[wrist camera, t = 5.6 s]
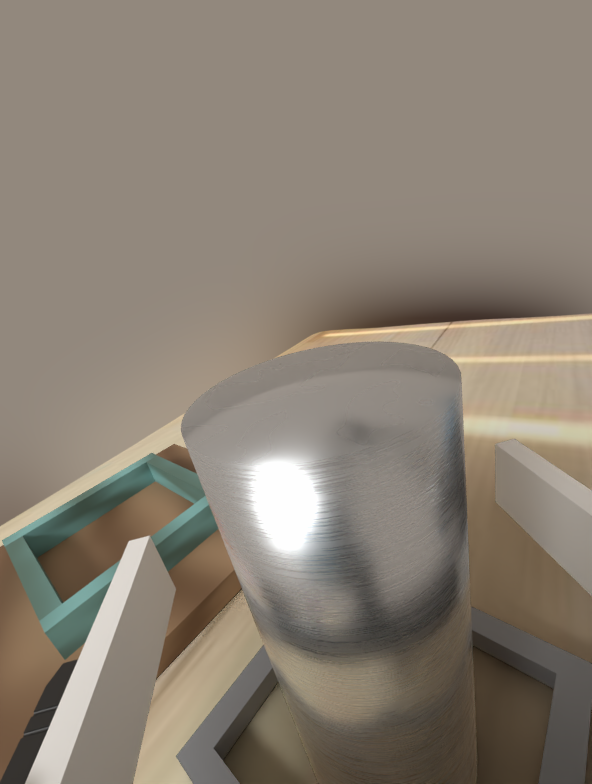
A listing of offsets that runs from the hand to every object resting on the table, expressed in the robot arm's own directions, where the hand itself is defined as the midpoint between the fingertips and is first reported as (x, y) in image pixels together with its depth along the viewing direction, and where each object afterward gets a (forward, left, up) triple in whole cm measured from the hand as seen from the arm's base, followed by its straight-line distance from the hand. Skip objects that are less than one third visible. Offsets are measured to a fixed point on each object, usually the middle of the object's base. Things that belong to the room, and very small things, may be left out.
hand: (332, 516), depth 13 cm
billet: (+2, +2, -8) cm, 8 cm away
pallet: (+3, -16, -8) cm, 18 cm away
